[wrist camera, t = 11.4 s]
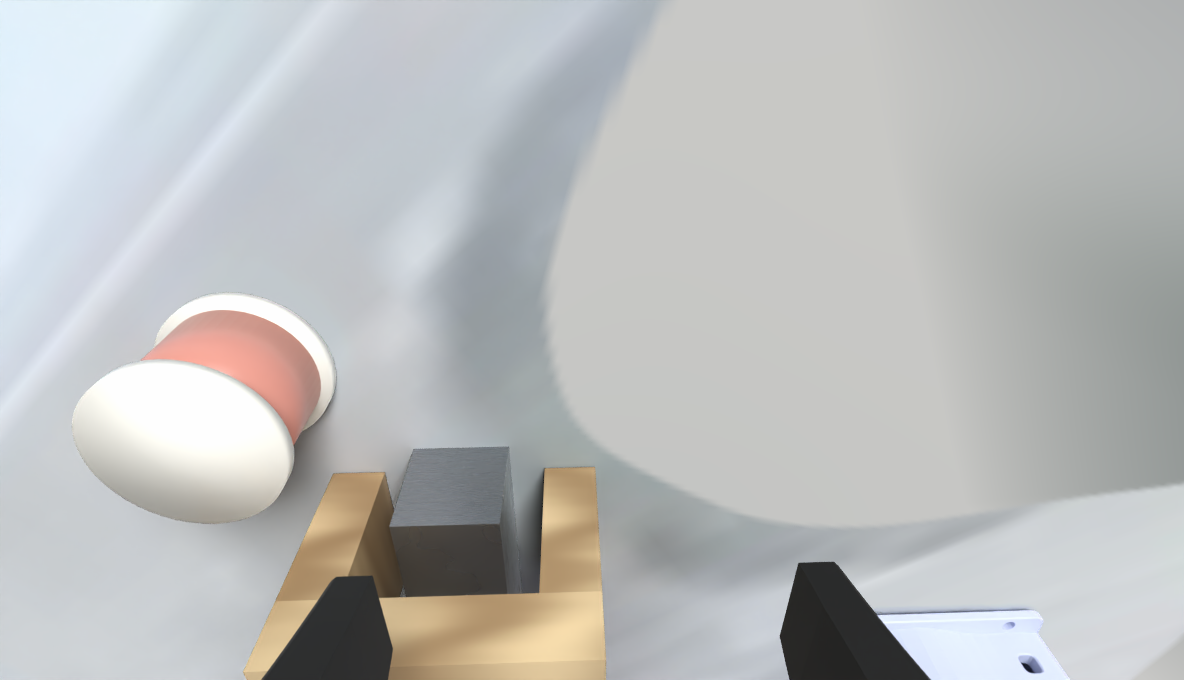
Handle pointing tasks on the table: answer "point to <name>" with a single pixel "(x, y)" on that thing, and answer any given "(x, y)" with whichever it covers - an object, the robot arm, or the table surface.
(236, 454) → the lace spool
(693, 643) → the table surface
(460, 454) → the dark grey bar
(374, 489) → the wooden u-shaped cradle
